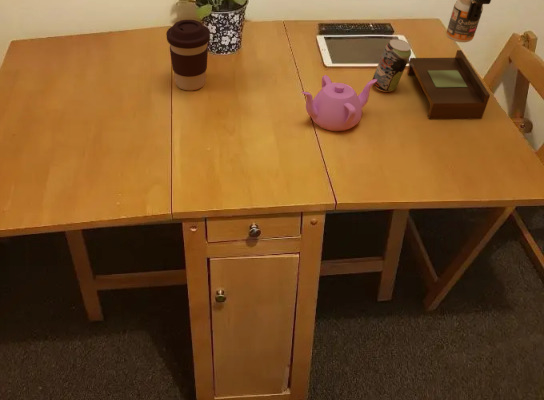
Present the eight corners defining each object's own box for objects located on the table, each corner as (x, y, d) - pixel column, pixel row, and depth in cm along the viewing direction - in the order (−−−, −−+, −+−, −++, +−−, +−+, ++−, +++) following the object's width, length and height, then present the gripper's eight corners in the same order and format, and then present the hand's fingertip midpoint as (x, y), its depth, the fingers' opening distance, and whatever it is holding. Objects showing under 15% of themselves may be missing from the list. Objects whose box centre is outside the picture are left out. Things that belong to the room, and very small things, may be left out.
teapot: (297, 125, 129) (301, 91, 123) (323, 96, 138) (327, 62, 132) (347, 142, 124) (354, 107, 118) (371, 111, 133) (378, 77, 127)
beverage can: (370, 80, 143) (379, 35, 135) (400, 82, 142) (411, 37, 134) (371, 94, 138) (380, 48, 130) (403, 96, 138) (414, 50, 129)
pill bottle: (453, 44, 123) (467, -1, 116) (440, 32, 127) (453, -13, 121) (478, 42, 124) (492, -3, 117) (464, 29, 128) (478, -15, 121)
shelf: (481, 118, 131) (490, 95, 127) (428, 119, 131) (435, 95, 126) (454, 72, 146) (461, 50, 141) (406, 72, 145) (412, 50, 141)
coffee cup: (215, 75, 144) (214, 18, 134) (205, 96, 137) (203, 38, 127) (176, 70, 146) (173, 14, 136) (164, 91, 139) (160, 33, 129)
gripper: (526, -58, 105) (496, 28, 117) (497, -84, 116) (472, -2, 127) (485, -58, 105) (459, 29, 117) (460, -84, 116) (438, -2, 127)
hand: (466, 12), depth 122 cm, fingers closed on pill bottle, 5 cm apart
